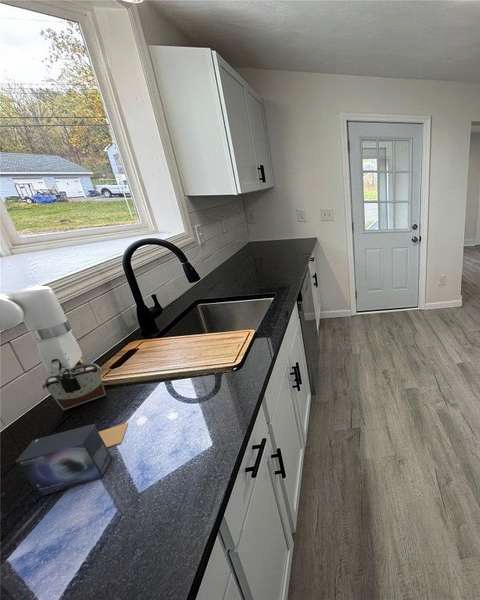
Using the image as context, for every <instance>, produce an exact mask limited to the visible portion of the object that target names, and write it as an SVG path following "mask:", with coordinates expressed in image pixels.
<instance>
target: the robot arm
mask: <svg viewBox="0 0 480 600" xmlns="http://www.w3.org/2000/svg"><path fill="white" fill-rule="evenodd" d="M22 321H23V323H24V324H25V326H26V328H27V330H28V332H29V334H30V336H31V338H32V340H33V342H35V343H36V348H37V351H38V354H39V357H40V359H41V361H42V363H43V366H44V368H45V370H46V372H47V374H49V375H53V377H54V378H56V379H57V380H58V381H59V382H60V383H61V385H62V386H63V388H64V390H65V392H66V393H70V392H74V391H78V390H80V389H81V386H80V385H79V383H78V381H77V379H76V377H73V372H72V368H73V367H74V366H76V365H80V364H85V361H84V360H83V353H82V350H81V347H80V344H78V341H77V340H76V338H75V337H74V335H73V333H72V332H73V329H72V327H71V325H70V323H69V320H68V319H67V316H66V315H65V312H64V310H63V308H62V305H61V304H60V302H59V300H58V298H57V295H56V293H55V292H54V289H52V287H49V286H46V285H39V286H32V287H27V288H23V289H20V290H16V291H11V292H5V293H0V332H1V331H2V332H3V331H6V330H10V329H14V328H15V327H17V326H18V325H19V324H20V323H21V322H22ZM66 368H67V369H66ZM64 369H65V370H64ZM67 371H68V375H67V374H63V373H62V372H67Z"/></svg>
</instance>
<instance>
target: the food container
mask: <svg viewBox="0 0 480 600" xmlns="http://www.w3.org/2000/svg"><path fill="white" fill-rule="evenodd" d="M65 369H67V367H65V368H63V370H65ZM100 371H101V372H102V371H103V369H102V368H101V367H100V366H99V365H98V364H97V363H94V362H91V363H90V362H87V363H84V364H80V365H76V366H74V367H73V368H72V372H73V377H76V379H77V381H78V383H79V385H80V386H81V389H80V390H78V391H74V392H70V393H66V392H65V390H64V388H63V386H62V385H61V383H60V382H59V381H58V380H57V379H56V378H54V377H53V374H50V375H49V376H47V377H46V378H45V379H44V380H43V381H42V385H41V387H42V390H45V389H46V390H47V391H48V393H49V394H50V395H51V397H52V398H53V399H54V400H55V402H56V403H57V404H58V405H59V407H60V408H61V409H62V411H66V410H68V409H71V408H74V407H76V406H80V405H82V404H85V403H88V402H91V401H93V400H94V401H95V400H96V399H99V398H103V397H104V396H107V394H106V390H105V387H104V383H103V380H102V377H101V373H100ZM62 373H63V374H67V375H68V371H67V372H62Z"/></svg>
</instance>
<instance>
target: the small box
mask: <svg viewBox="0 0 480 600" xmlns="http://www.w3.org/2000/svg"><path fill="white" fill-rule="evenodd" d="M99 432H100V431H99V430H98V428H97V426H96V424H95V423H92V424H88V425H85V426H81V427H77V428H73V429H70V430H65V431H62V432H58V433H55V434H51V435H47V436H43V437H40V438H35V439H33V440H32V441H31V442H30V443H29V445H28V446H26V449H25V450H24V451H23V452H22V453H21V454H20V456H19V457H18V458H17V459H16V461H15V463H16V464H17V465H18V466H19V468H20V469H21V470H22V472H23V473H24V475H25V476H26V478H27V479H28V480H29V482H30V483H31V484H32V486H33V487H34V489H35V490H36V491H37V493H38V494H39V495H40V497H42V498H43V497H45V496H47V495H51V494H54V493H58V492H62V491H65V490H67V489H71V488H74V487H76V486H80V485H83V484H86V483H90V482H93V481H97V480H100V479H102V478H103V477H104V476H105V474H106V472H107V470H108V468H109V466H110V464H111V462H112V461H113V459H114V457H113V455H112V454H111V452H110V450H109V448H107V447H106V445H105V443H104V441H103V439H102V438H101V436H100V434H99Z"/></svg>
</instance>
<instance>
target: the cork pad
mask: <svg viewBox="0 0 480 600" xmlns="http://www.w3.org/2000/svg"><path fill="white" fill-rule="evenodd" d="M128 425H129V422H125V423H122V424H119V425H115V426H113V427H110V428H107V429H103V430H100V431H98V432H99V434H100V436H101V438H102V439H103V441H104V443H105V445H106V447H107V448H108V449H109V448H112V447H115V446H117V445H120V444H122V441H123V439H124V436H125V434H126V432H127V428H128Z"/></svg>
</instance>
